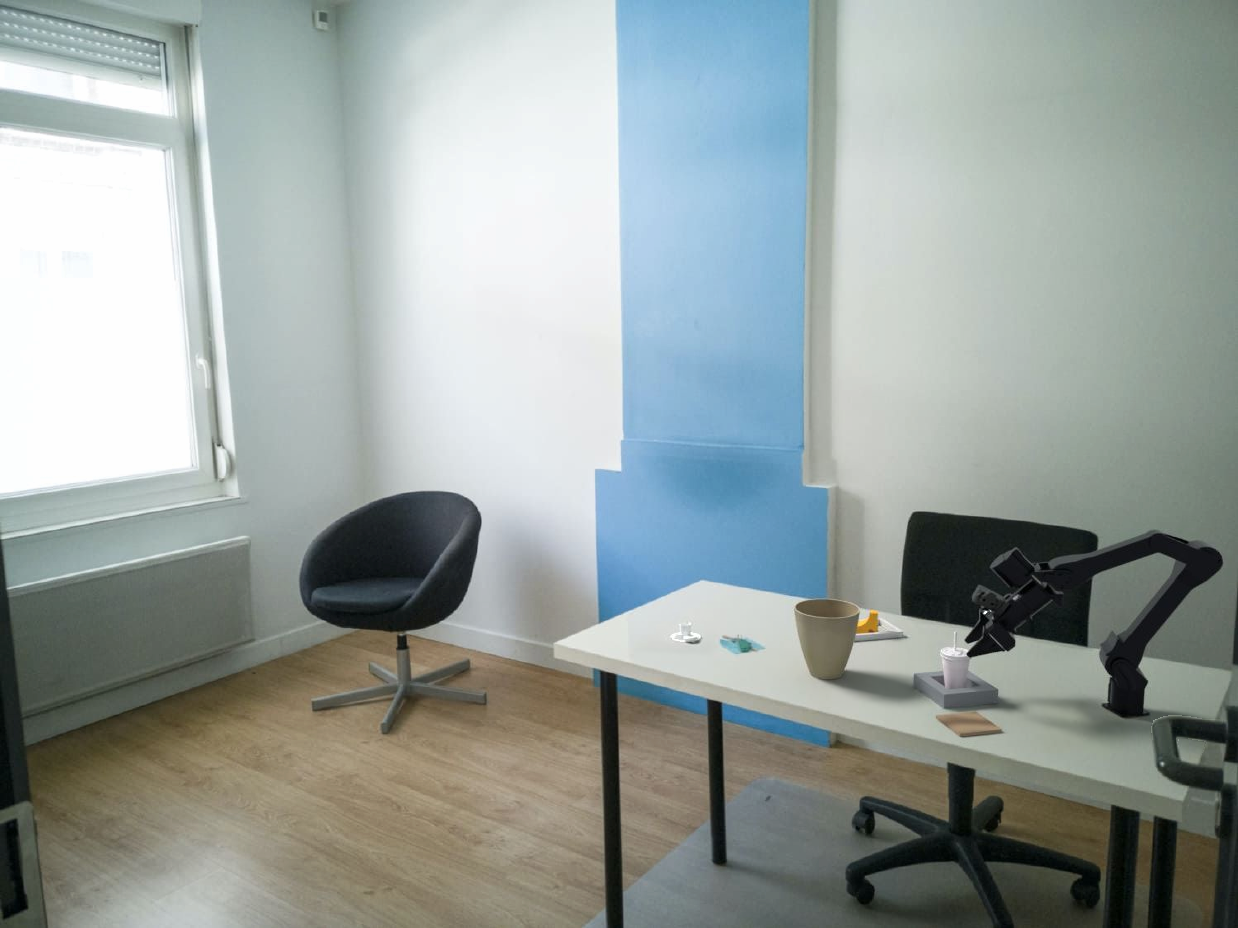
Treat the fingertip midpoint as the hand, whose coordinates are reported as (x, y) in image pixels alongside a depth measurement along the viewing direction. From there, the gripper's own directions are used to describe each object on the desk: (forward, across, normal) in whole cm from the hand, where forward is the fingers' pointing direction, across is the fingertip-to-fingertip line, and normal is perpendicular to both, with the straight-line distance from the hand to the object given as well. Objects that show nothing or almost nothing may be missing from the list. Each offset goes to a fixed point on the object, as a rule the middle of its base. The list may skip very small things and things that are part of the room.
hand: (966, 648), depth 197 cm
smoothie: (+9, 0, +6) cm, 11 cm away
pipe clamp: (+26, -38, -10) cm, 47 cm away
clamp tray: (+25, -38, -10) cm, 46 cm away
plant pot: (+29, -5, -14) cm, 32 cm away
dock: (+9, 0, +6) cm, 11 cm away
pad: (+7, +16, +7) cm, 19 cm away
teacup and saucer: (+57, -20, -41) cm, 73 cm away
